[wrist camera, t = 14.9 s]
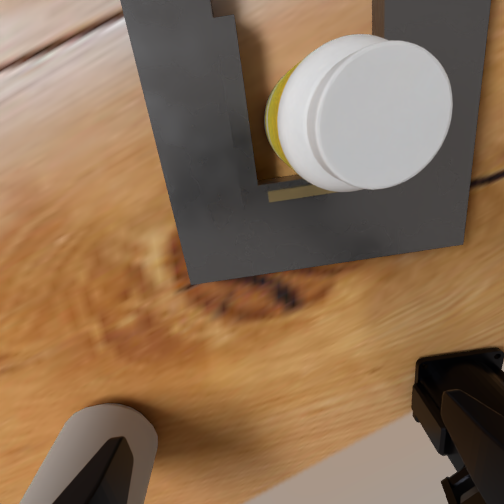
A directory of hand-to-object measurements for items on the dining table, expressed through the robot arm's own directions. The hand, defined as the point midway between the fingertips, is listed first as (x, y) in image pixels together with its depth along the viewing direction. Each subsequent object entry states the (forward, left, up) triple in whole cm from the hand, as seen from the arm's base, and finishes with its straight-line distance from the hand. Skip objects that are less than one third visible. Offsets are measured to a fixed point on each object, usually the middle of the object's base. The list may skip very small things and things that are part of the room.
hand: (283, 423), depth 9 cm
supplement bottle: (-4, -7, -13) cm, 16 cm away
